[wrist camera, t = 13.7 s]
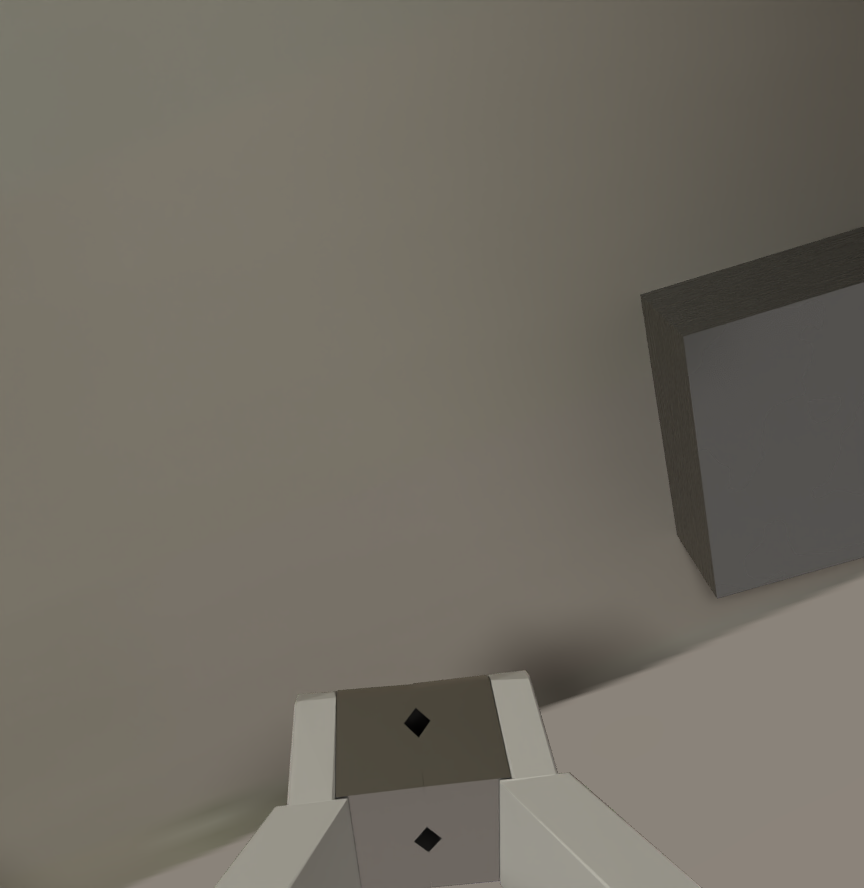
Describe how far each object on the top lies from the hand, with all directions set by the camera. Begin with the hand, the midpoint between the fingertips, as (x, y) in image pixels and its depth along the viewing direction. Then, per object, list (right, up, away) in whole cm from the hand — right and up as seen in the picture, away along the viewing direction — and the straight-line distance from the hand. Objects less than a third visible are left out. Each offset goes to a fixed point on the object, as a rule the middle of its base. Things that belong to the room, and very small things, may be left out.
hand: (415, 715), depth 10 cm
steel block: (+7, +5, +6) cm, 11 cm away
